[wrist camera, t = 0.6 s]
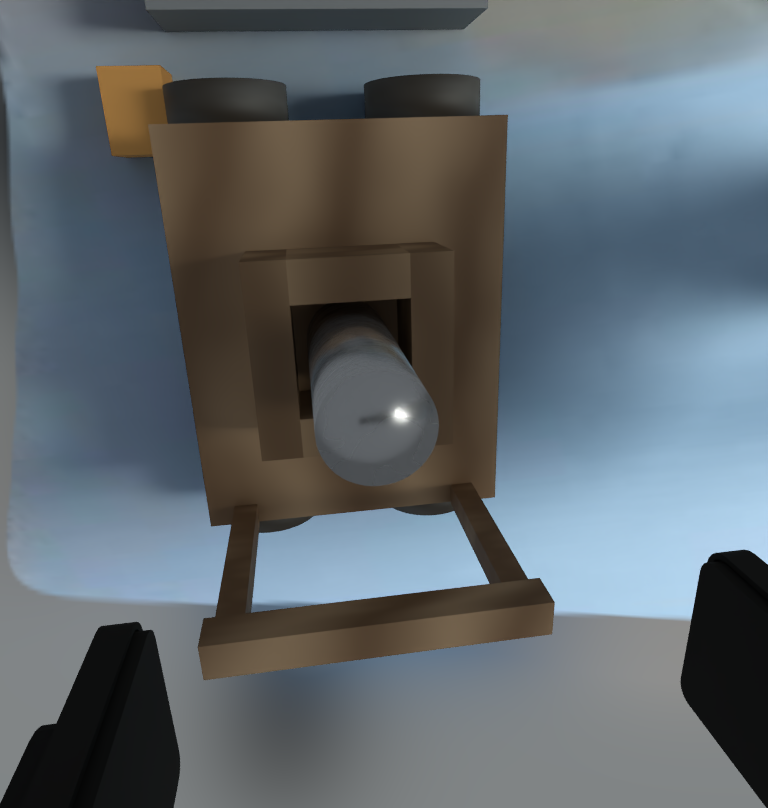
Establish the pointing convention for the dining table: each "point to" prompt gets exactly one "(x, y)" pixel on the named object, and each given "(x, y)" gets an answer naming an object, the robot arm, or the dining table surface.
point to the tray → (313, 14)
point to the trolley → (287, 339)
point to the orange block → (132, 106)
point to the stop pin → (366, 398)
